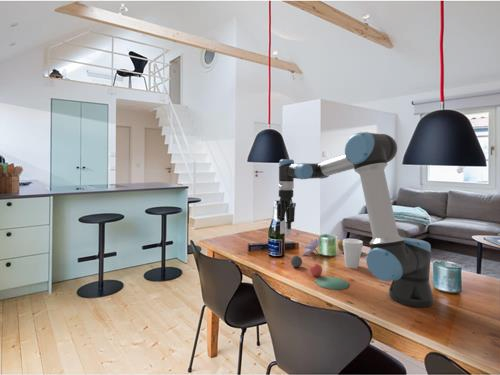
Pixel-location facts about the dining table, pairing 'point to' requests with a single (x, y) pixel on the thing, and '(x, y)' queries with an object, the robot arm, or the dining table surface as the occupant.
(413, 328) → the dining table surface
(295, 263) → the dark gray ball
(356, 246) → the foam cup
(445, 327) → the dining table surface
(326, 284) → the green mark
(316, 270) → the red ball
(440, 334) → the dining table surface
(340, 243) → the potato
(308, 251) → the water lily
